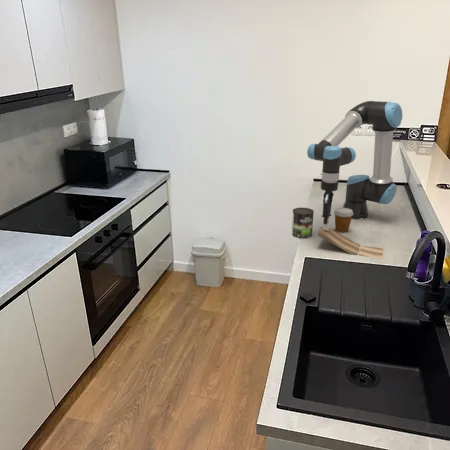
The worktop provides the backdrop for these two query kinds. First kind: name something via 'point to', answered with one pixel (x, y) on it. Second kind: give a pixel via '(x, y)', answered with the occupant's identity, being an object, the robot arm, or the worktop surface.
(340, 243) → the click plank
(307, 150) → the robot arm
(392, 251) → the worktop surface
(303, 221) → the coffee can
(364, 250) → the laid plank
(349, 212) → the disposable coffee cup
